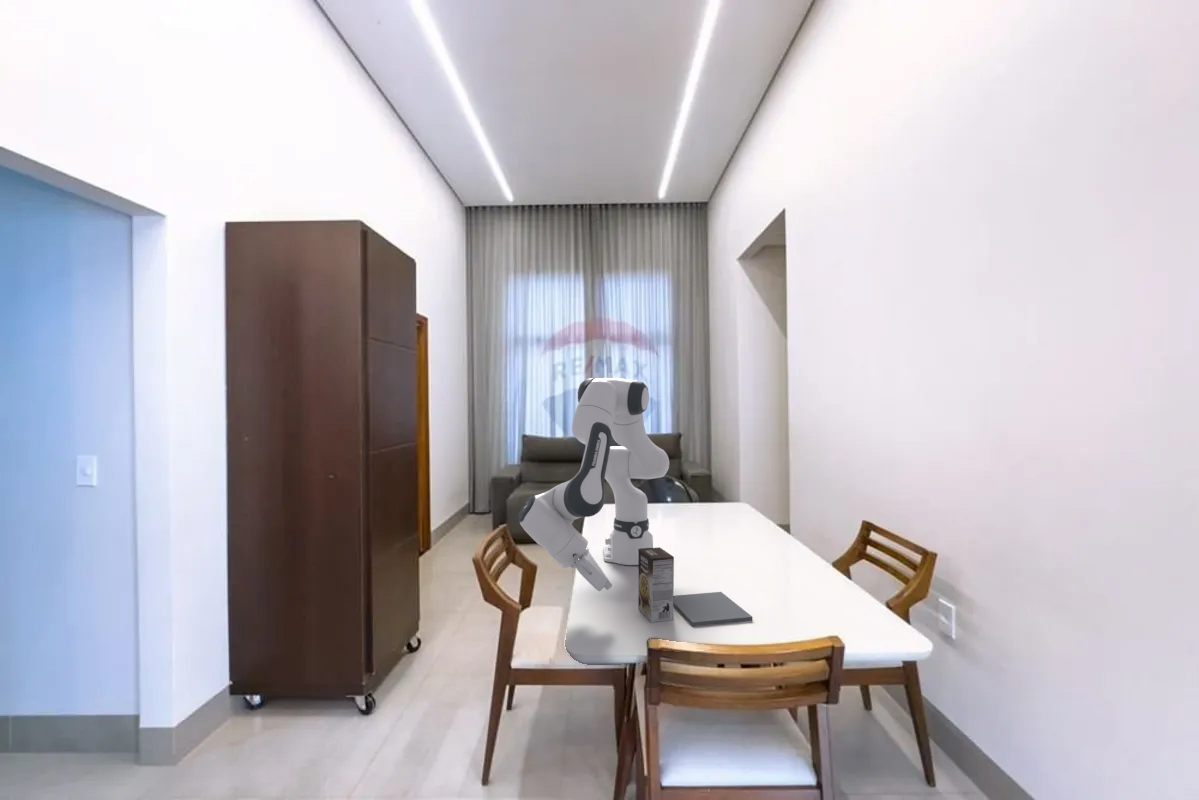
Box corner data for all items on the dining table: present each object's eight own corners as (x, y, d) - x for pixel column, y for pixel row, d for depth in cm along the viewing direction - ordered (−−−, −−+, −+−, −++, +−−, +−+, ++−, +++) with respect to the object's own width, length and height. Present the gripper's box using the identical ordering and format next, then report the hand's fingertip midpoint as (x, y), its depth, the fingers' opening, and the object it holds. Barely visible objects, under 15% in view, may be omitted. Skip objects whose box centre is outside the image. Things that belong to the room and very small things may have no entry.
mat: (667, 599, 150) (667, 596, 150) (721, 595, 154) (721, 591, 154) (692, 626, 133) (692, 622, 132) (752, 620, 136) (752, 616, 136)
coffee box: (637, 609, 143) (637, 548, 143) (659, 606, 145) (659, 546, 145) (650, 623, 135) (650, 558, 134) (674, 619, 136) (674, 555, 136)
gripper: (587, 551, 125) (628, 590, 128) (572, 530, 145) (608, 564, 148) (568, 572, 124) (609, 611, 127) (556, 547, 144) (592, 582, 147)
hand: (608, 585), depth 137 cm, fingers closed
